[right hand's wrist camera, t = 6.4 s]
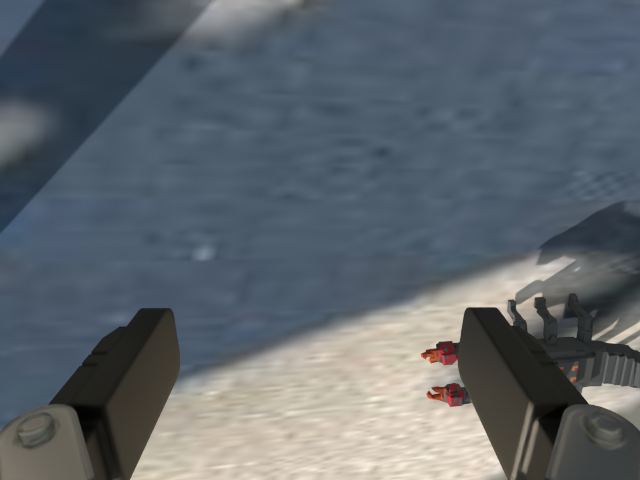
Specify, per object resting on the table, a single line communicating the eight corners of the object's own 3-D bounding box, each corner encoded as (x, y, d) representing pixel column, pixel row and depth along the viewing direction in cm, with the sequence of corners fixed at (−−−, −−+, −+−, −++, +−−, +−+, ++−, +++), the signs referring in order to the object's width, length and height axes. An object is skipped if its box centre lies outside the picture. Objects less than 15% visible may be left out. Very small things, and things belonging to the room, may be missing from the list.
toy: (637, 384, 50) (801, 544, 33) (415, 402, 51) (463, 566, 34) (660, 286, 45) (866, 415, 28) (413, 308, 46) (467, 446, 29)
